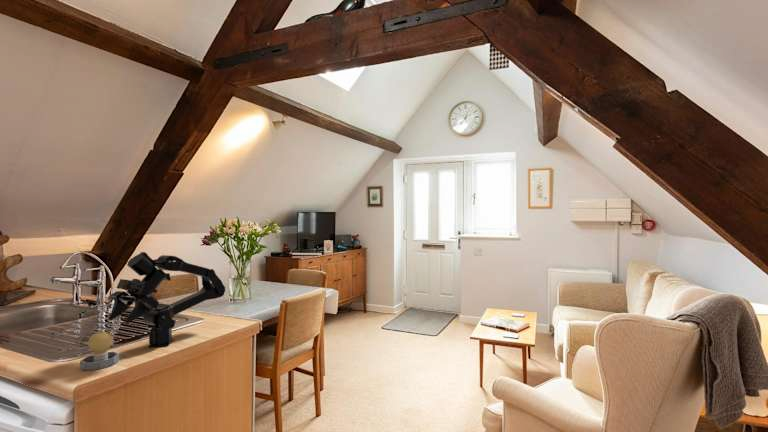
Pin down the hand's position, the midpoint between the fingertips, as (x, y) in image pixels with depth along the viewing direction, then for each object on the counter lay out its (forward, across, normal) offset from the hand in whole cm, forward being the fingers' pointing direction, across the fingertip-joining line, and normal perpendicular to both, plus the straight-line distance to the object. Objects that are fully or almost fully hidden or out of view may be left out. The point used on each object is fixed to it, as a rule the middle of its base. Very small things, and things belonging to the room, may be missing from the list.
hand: (117, 321), depth 129 cm
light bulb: (+12, 0, +5) cm, 13 cm away
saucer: (+13, 0, +5) cm, 14 cm away
